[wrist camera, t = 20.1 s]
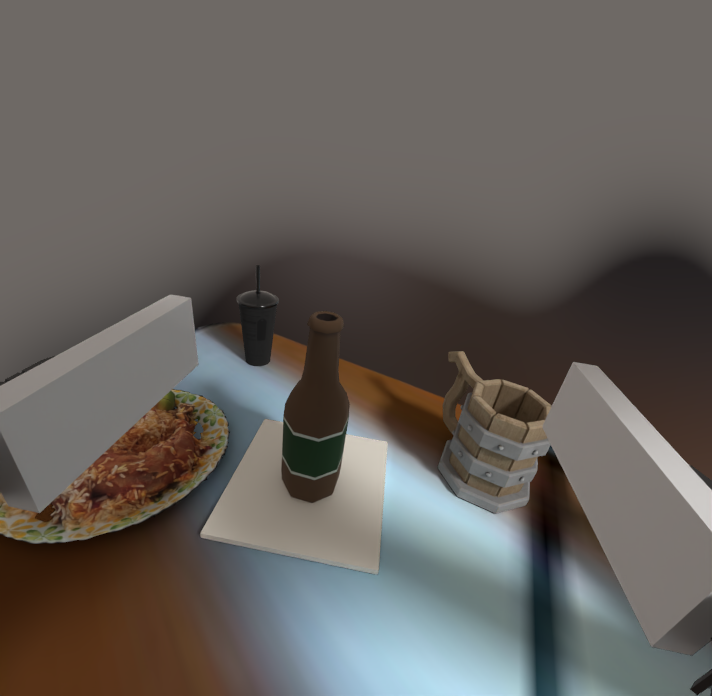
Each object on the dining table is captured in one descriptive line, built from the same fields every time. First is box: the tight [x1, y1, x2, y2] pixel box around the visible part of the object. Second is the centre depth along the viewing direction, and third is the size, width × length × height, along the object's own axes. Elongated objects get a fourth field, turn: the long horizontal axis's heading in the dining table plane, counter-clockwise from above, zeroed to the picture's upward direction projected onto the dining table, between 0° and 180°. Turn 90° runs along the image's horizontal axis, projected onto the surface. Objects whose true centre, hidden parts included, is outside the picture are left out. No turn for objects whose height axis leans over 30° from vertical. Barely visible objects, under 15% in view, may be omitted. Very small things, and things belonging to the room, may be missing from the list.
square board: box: [200, 419, 388, 575], centre depth 47 cm, size 20×20×1 cm
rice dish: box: [0, 389, 230, 544], centre depth 47 cm, size 28×28×5 cm
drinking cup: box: [237, 265, 279, 366], centre depth 68 cm, size 8×8×20 cm
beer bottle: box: [281, 311, 349, 503], centre depth 41 cm, size 8×8×24 cm
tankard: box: [438, 352, 552, 514], centre depth 52 cm, size 20×13×15 cm, turn 20°
